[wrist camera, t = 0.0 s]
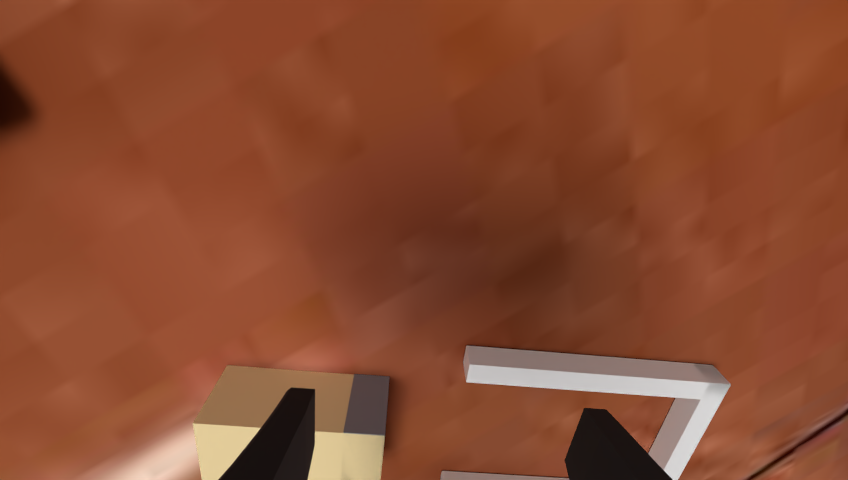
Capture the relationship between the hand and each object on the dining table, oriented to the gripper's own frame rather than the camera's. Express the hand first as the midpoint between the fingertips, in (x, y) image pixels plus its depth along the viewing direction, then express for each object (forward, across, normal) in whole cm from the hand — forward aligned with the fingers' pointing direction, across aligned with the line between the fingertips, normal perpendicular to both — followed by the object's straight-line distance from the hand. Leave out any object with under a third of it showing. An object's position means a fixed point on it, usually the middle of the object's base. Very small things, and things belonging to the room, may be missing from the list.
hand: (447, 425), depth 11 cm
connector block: (+10, +6, +11) cm, 16 cm away
